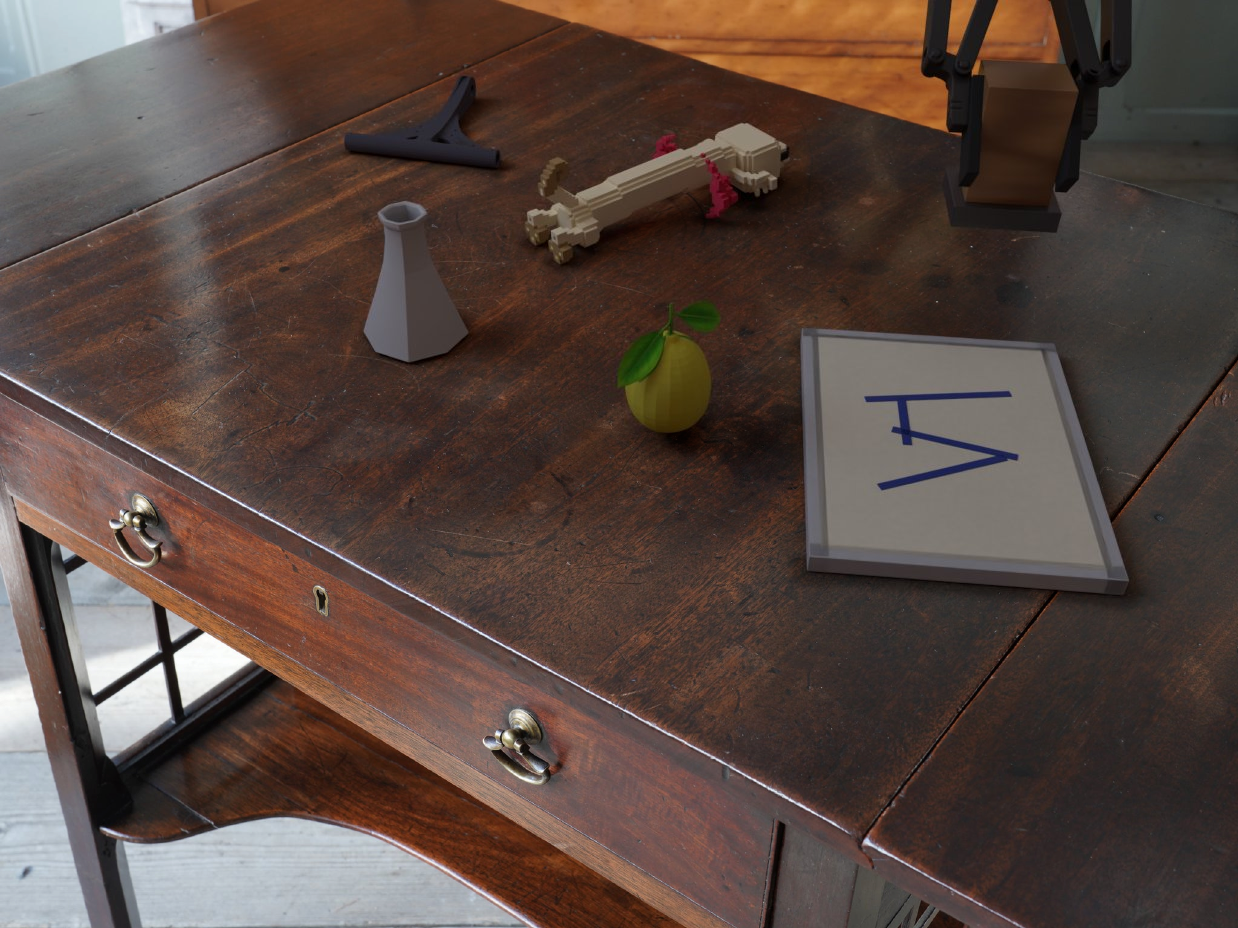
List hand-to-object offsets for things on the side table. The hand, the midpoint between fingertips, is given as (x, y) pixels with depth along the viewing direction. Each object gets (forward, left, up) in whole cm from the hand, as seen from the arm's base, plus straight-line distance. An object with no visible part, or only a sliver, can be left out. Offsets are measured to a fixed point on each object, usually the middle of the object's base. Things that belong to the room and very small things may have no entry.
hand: (1017, 182), depth 79 cm
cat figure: (+23, -20, -14) cm, 34 cm away
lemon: (+21, +10, -14) cm, 28 cm away
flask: (+40, +1, -14) cm, 43 cm away
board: (+3, +11, -14) cm, 18 cm away
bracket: (+45, -34, -14) cm, 58 cm away
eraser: (0, -4, -4) cm, 5 cm away
